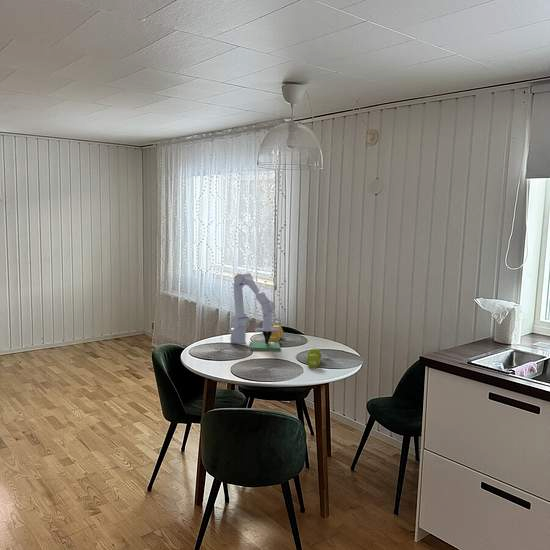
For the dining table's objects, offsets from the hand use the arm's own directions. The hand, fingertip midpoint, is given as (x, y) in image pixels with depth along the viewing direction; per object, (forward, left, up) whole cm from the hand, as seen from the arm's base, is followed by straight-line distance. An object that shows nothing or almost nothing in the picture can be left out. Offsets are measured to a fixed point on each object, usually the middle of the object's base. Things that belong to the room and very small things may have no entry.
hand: (266, 343), depth 310 cm
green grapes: (+23, -33, -3) cm, 40 cm away
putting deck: (-1, 0, -3) cm, 3 cm away
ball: (+3, 0, -1) cm, 3 cm away
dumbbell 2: (+7, +21, -3) cm, 22 cm away
